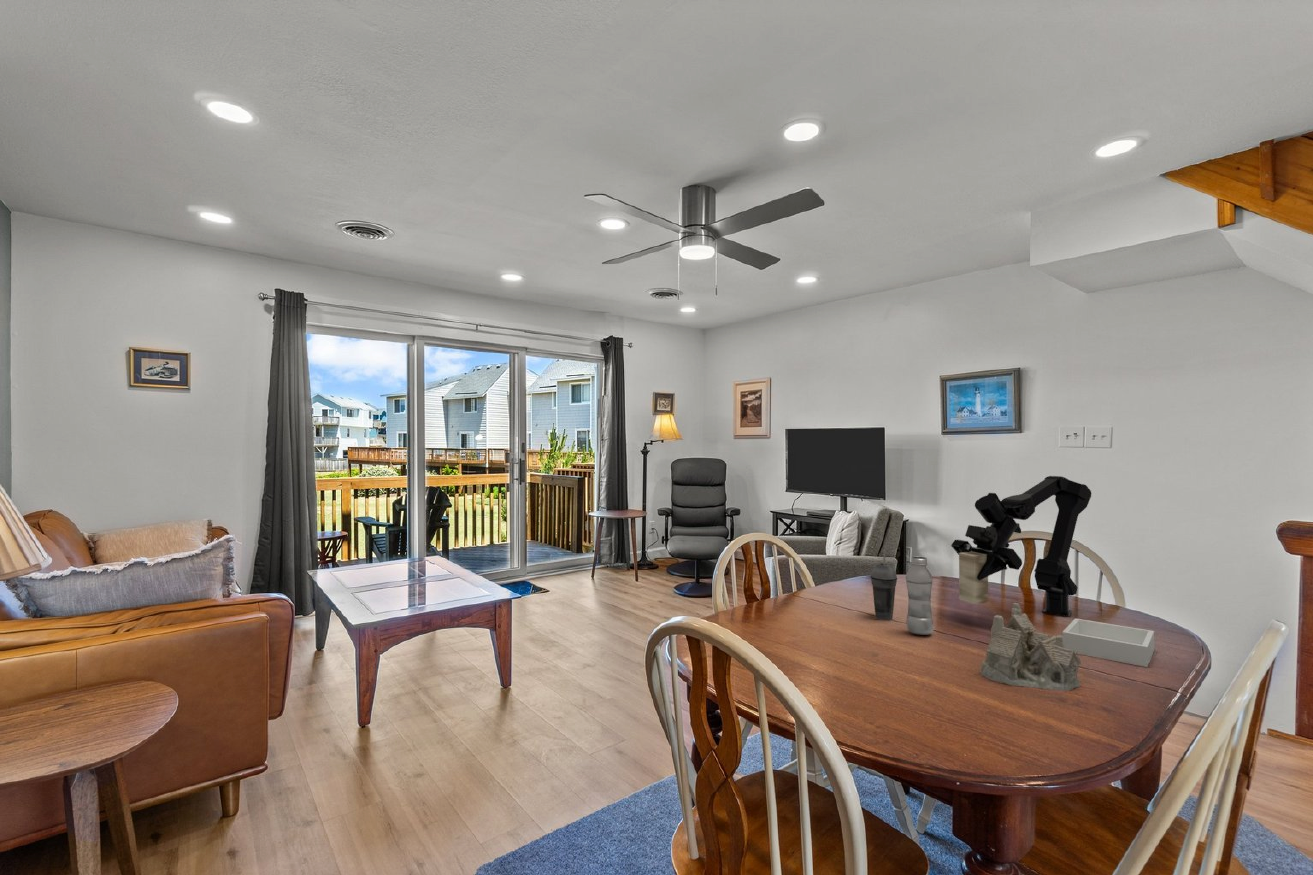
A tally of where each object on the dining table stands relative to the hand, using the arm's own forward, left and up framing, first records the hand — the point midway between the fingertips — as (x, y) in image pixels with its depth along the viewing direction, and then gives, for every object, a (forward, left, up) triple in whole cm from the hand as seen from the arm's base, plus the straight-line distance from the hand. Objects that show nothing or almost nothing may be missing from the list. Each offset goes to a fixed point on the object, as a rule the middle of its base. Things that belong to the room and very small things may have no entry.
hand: (969, 577), depth 167 cm
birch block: (-1, 0, -7) cm, 7 cm away
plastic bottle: (+16, -8, -14) cm, 23 cm away
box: (-2, +30, -13) cm, 33 cm away
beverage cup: (+8, -21, -14) cm, 26 cm away
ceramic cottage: (+31, +21, -14) cm, 40 cm away
